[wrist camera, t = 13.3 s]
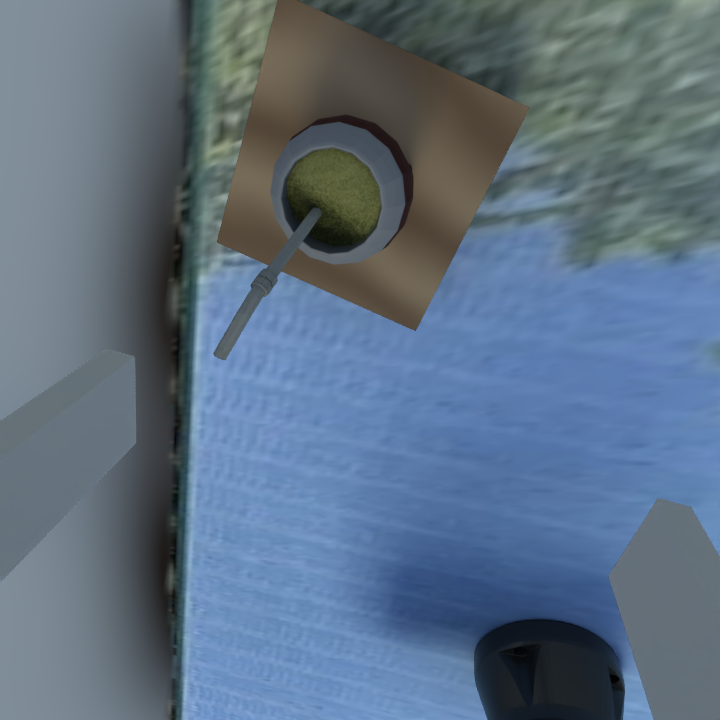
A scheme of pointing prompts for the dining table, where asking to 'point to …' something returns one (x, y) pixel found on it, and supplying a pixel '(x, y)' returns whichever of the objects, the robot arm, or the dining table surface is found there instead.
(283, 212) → the mate gourd
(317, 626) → the dining table surface
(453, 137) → the walnut box
